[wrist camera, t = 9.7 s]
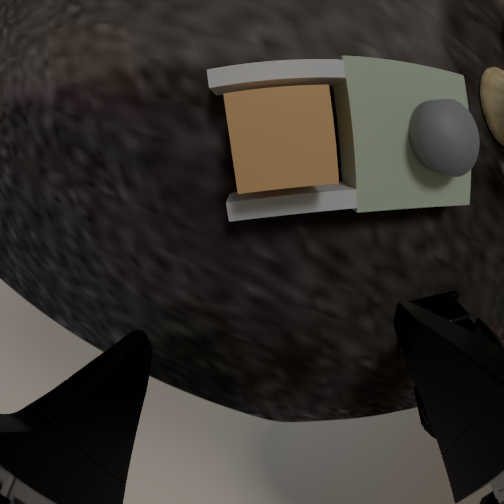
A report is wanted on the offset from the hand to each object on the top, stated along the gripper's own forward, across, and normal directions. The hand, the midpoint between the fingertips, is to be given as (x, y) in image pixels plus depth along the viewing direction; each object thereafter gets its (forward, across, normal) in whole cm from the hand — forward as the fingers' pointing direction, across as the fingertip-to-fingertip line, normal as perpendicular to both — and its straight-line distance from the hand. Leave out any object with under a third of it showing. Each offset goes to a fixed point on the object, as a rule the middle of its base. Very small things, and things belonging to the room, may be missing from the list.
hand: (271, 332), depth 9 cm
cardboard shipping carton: (+12, -2, -6) cm, 14 cm away
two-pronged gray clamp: (+12, -7, -6) cm, 15 cm away
